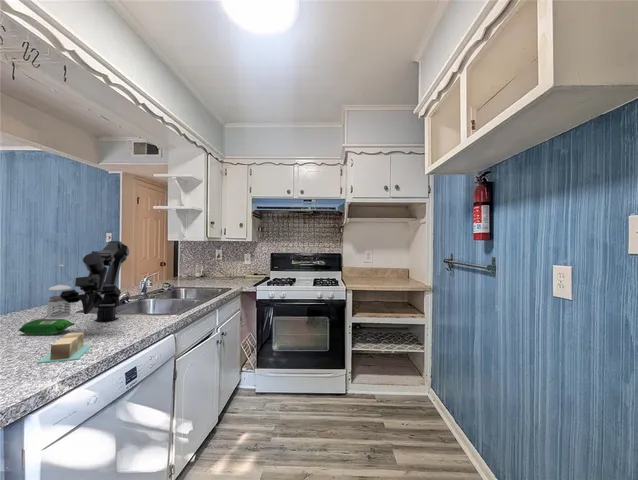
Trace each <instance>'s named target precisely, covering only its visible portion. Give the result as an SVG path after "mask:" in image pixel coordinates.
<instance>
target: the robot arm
mask: <svg viewBox="0 0 638 480" xmlns="http://www.w3.org/2000/svg"><path fill="white" fill-rule="evenodd" d="M129 254H130V249H129V247H128V245H126V244H124V243H122V241H120V240H109V241H108V243H107V244H106V245H105V247H103V249H102V250H97V251H95V250H92V251H91V253H88V254H86V255H84V257H82V261H83V264H84V266H85V269H86V270H87V271H89V273H88V276H81V277H80V276H78V277H75V281H74V282H75V283H74V287H79V291H77V290H76V289H70V290H63V291H61V292H60V294H59V296H60V297H61V298H62V299H63V300H65V301H66V302H68V303H70V304H72V303H73V304H74V303H78V302H80V301H81V304H82V310H83V314H84V315H88V314H89V313H90V312H91V311H92V310H93V309H97V312H96V319H94V322H101V323H107V322H111V321H115V320H117V319H119V317H116V313H117V312H116V309H117V308H119V307H120V306H121V305H120V304H121V300H120V297H121V293H122V291H121V289H120V288H119V287H118V286H117V282H118V278H119V273H120V270H121V267H122V264H123V263H124V262H126V261H127V257H128V256H129ZM107 267H108V268H107Z"/></svg>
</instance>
